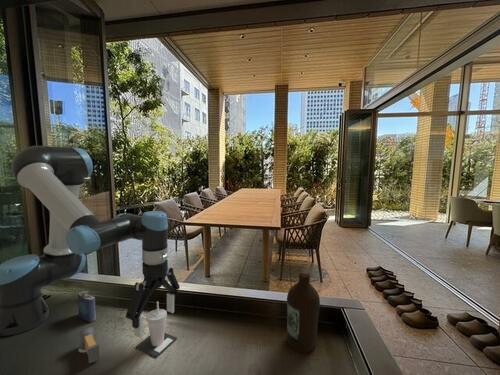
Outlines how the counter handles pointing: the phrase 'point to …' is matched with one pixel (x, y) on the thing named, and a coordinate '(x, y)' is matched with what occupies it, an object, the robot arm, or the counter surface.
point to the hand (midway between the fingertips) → (155, 322)
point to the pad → (156, 350)
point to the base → (83, 350)
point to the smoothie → (156, 325)
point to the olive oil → (302, 314)
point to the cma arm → (89, 344)
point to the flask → (86, 306)
